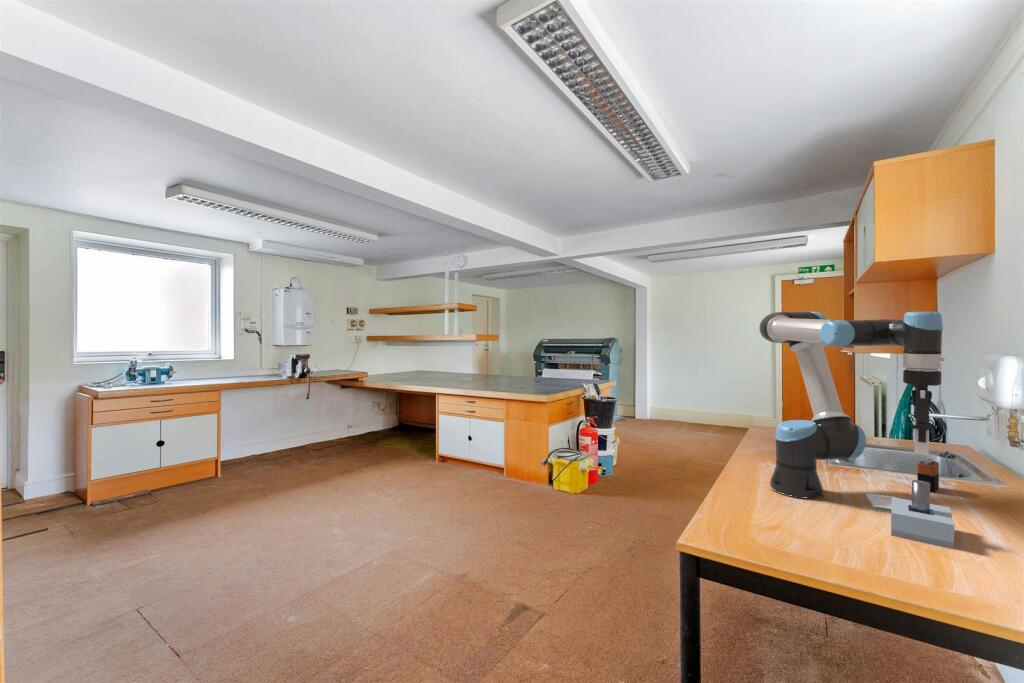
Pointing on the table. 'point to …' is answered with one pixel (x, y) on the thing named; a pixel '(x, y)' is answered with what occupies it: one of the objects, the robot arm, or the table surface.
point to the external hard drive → (880, 501)
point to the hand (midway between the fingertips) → (920, 448)
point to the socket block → (922, 523)
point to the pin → (921, 496)
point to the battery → (929, 473)
